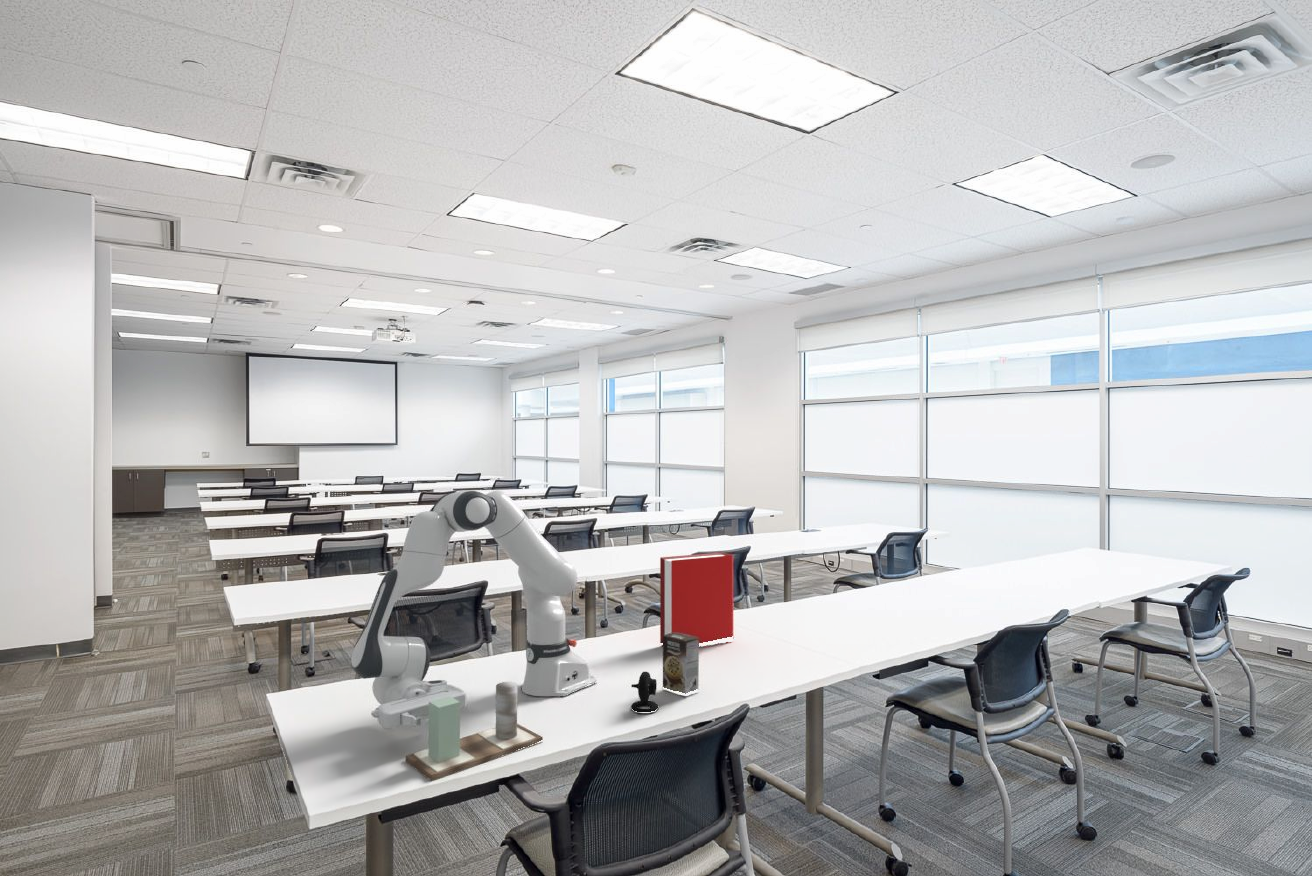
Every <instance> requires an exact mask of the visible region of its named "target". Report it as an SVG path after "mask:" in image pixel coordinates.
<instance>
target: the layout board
mask: <svg viewBox="0 0 1312 876" xmlns="http://www.w3.org/2000/svg"><path fill="white" fill-rule="evenodd" d="M543 738H544V737H543V736H541V735H539V733H536V732H534V731H532V730H530V729H528V728H527V727H524V726H522V725H521V724H519V723H518V683H517V682H515V681H502V682H498V683H497V684H496V685H495V727H492V728H490V729H486V730H483V731H479V732H477V733H474V734H470V735H467V736H463V737H460V756H458V757H455V758H452V759H449V760H446V761H443V762H440V763H438V762H436V761H435V760H434V759H432V758H431V757H430V756H428V748H425V749H421V750H419V751H415V752H413V753H409V754H406V755H405V762H406V763H408V765H409V766H411V767H412V768H414V769H415V768H416V769H417V770H416V769H415V770H416V771H418V772H419V773H420V774H422V775H423V776H424V775H425V776H426V778H427V779H428V778H429V779H430V780H429V779H428V780H429V781H431V782H432V780H433V781H435V780H434V779H436V780H438V778H439V779H441V777H442V778H444V777H443V776H445V777H447V776H446V775H448V776H449V775H450V776H451V775H453V774H456V773H459V772H461V771H464V770H468V769H470V768H473V767H475V766H479V765H481V764H484V763H488V762H490V761H494V760H496V759H499V758H502V757H503V756H502V755H505V754H508V755H509V753H510V754H512V753H511V752H513V753H515V752H514V751H516V750H518V749H521V748H523V747H528V746H530V745H532V744H535V743H537V742H539V741H541V740H543ZM530 747H531V746H530ZM528 748H529V747H528ZM516 752H517V751H516ZM501 756H502V757H501ZM505 756H506V755H505ZM498 757H499V758H498ZM425 776H424V777H425Z"/></svg>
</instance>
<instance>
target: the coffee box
mask: <svg viewBox="0 0 1312 876" xmlns="http://www.w3.org/2000/svg"><path fill="white" fill-rule="evenodd" d="M699 655H700V648H699V637H695V636H691V635H687V634H683V633H679V632H674V633H669V634H666V635H663V646H662V688H663V687H664V688H667V689H670V690H673V691H679V692H682V693H685V694H686V693H688V692H690V691H694V690H696V689H698V690H699V686H700V685H699V681H700V680H699V674H700V673H699V671H700V670H699V663H700V662H699V661H700V656H699Z"/></svg>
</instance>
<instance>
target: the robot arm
mask: <svg viewBox="0 0 1312 876" xmlns="http://www.w3.org/2000/svg"><path fill="white" fill-rule="evenodd" d="M483 528H485V529H486V530H487V532H488V533H489V534H490V535H491V537H492V538H493V539H494V540H495V542H496V543H497V544H498V546H499V547H500V548H501V550H503V552H504V553H505V554H506V556H507V557H508V558H509V559H510V560H511V561H512V562H513V563H514V564H515V565H516V566H517V567H518V568H517V574H518V577H519V579H520V581H521V585H522V590H523V597H524V601H525V607H526V611H527V612H526V614H527V640H526V643H525V644H526V645H525V655H526V657H525V658H526V666H525V667H526V668H525V674H524V679H523V683H522V687H521V691H522V693H524V694H526V695H530V696H534V697H560V696H564V697H566V696H565V695H567V694H569V693H571V692H573V691H577V690H579V689H581V688H583V687H585V686H587V685H588V684H593V683H595V682H596V681H597V678H596V677H595V676H594V675H592V674H590V672H589V671H590V670H589V667H588V663H587V661H586V660H585V659H584V658H582V657H581V656H579V655H578V654H576V653H575V652H574V651H572V650H571V647H572V648H575V647H577V644H578V641H577V640H576V639H572V638H571V639H568V638H567V637H566V611H565V608H564V605H563V604H562V601H561V597H566V596H568V595H570V594H571V593H572V592H573V591H574V590H575V588H576V586H577V583H578V573H577V571H576V569H575V568H574V567H573V566H572V565H571V564H570V563H569V562H568V561H567V560H566V559H565V558H564V557H563V556H562V555H561V553H560V552H559V551H558V550H557V549H556V548H555V547H554V546H553V545H552V544H551V543H550V542H549V541H548V540H547V539H546V538H545V537H544V536H543V535H542V534H541V533H540V531H538V529H537V528H536V527H535V525H534V524H533V523H532V521H531V520H530V518H529V517H528V516H527V515H526V514H525V512H524V511H523V510H522V508H521V507H520V506H519V505H518V504H517V503H516V502H515V500H513V498H511V497H510V496H509V495H508V494H507V493H505V492H504V491H502V490H492V491H491V492H490V491H489V492H488V493H486V494H484V493H482V492H480V491H477V490H459V491H455V492H451V493H446V494H445V495H442V496H440V498H438V499H437V500H436V502H435V503H434V505H432V507H431V509H430V510H427V511H421V512H419V513H417V514H416V515H414V516H413V518H412V520H411V523H410V525H409V528H408V530H407V533H406V537H405V539H404V543H403V548H402V553H401V556H400V559H399V561H398V562H397V564H396V565H395V566H394V568H393V569H391V570H389V571H387V572H386V573H385V575H384V576H383V578H382V580H381V582H380V584H379V586H378V588H377V589H378V590H377V591H376V593H375V596H374V599H373V602H372V604H371V607H370V610H369V612H368V615H367V618H366V621H365V624H364V625H363V628H362V631H361V632H360V635H359V638H358V639H357V640H356V643H355V645H354V647H353V650H352V652H351V656H350V666H351V668H352V670H353V671H354V672H355V674H357V676H359V677H360V678H361V679H374V680H373V683H372V687H371V688H372V693H373V696H374V698H375V700H376V702H377V703H378V704H380V705H378V707H377V708H375V709H374V710H372V711H371V712H370V714H371V716H372V717H373V718H376V719H377V721H378V724H379V726H381V728H383V729H386V730H390V729H394V728H399V727H400V726H402V727H403V726H404V725H407V726H412V727H418V726H420V725H421V724H422V721H423V720H425V719H426V720H427V719H429V701H433V700H437V699H441V698H445V697H448V696H450V697H452V698H454V699H456V700H457V701H459V702H460V710H462V709H465V707H466V705H467V693H466V691H465V690H463V689H462V688H460V687H458V686H456V685H453V684H448V681H446V680H445V679H439V680H438V679H436V680H424V679H425V677H426V675H427V674H428V670H429V668H430V663H431V652H430V649H429V646H428V645H427V643H426V641H425V640H424V639H423V638H422V637H420V636H418V637H417V636H389V635H386V636H385V635H384V633H385V630H386V627H387V625H388V623H389V619H390V618H391V617H390V616H391V614H392V611H393V609H394V606H395V604H396V602H397V601H398V600H399V599H400V598H401V597H403V596H405V595H407V594H409V593H412V592H415V591H418V590H423V589H425V588H427V587H429V586H431V585H433V584H434V583H435V582H436V581H438V580H439V579H440V577H441V576H442V574H443V572H444V568H445V566H446V565H445V564H446V558H447V553H448V546H449V544H450V540H451V538H452V536H453V535H454V534H455V533H461V532H462V533H465V532H469V531H471V532H472V531H477V530H480V529H483ZM595 684H596V683H595ZM593 685H594V684H593ZM581 690H582V689H581ZM579 691H580V690H579ZM577 692H578V691H577ZM567 696H568V695H567Z"/></svg>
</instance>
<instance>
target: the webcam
mask: <svg viewBox="0 0 1312 876" xmlns="http://www.w3.org/2000/svg"><path fill="white" fill-rule="evenodd" d="M657 684H658V683H657V679H655V678H652V677H651V674H650V672H648V671H642V672H641V673H640V676H639V679H638V683H636V684H631V688H635V689H637V694H638V698H639V700H636V701H634V702H633V703H631V705H630V709H631V708H632V709H633V710H634V711H637V712H651V711H655V710H656V709H657V708H658V706H659V704H658V703H657V702H655V701H653V700H649V698H650V696H656V694H657ZM641 706H644V707H647V708H643V707H641ZM632 709H631V710H632ZM658 709H659V708H658Z"/></svg>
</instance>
